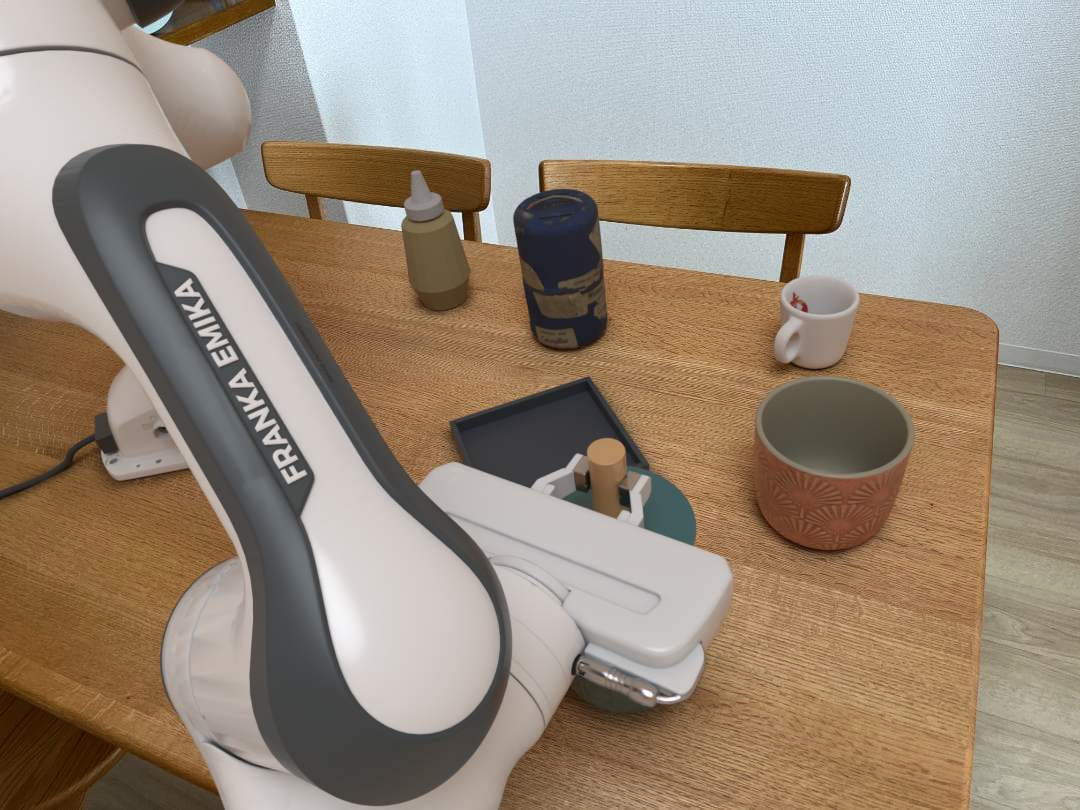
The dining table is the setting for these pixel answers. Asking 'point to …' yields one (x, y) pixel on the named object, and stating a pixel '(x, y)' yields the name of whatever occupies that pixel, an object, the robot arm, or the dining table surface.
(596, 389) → the tray
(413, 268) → the squeeze bottle
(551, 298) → the canister
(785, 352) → the cup
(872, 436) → the planter
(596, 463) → the teal lid with handle
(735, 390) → the dining table surface
